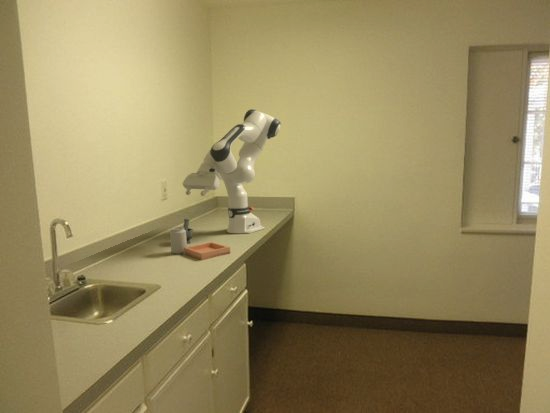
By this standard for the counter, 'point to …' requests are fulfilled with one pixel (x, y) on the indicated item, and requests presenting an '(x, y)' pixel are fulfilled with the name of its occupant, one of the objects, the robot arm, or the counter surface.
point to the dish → (206, 250)
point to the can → (178, 240)
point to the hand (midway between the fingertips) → (194, 194)
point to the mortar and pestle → (188, 230)
